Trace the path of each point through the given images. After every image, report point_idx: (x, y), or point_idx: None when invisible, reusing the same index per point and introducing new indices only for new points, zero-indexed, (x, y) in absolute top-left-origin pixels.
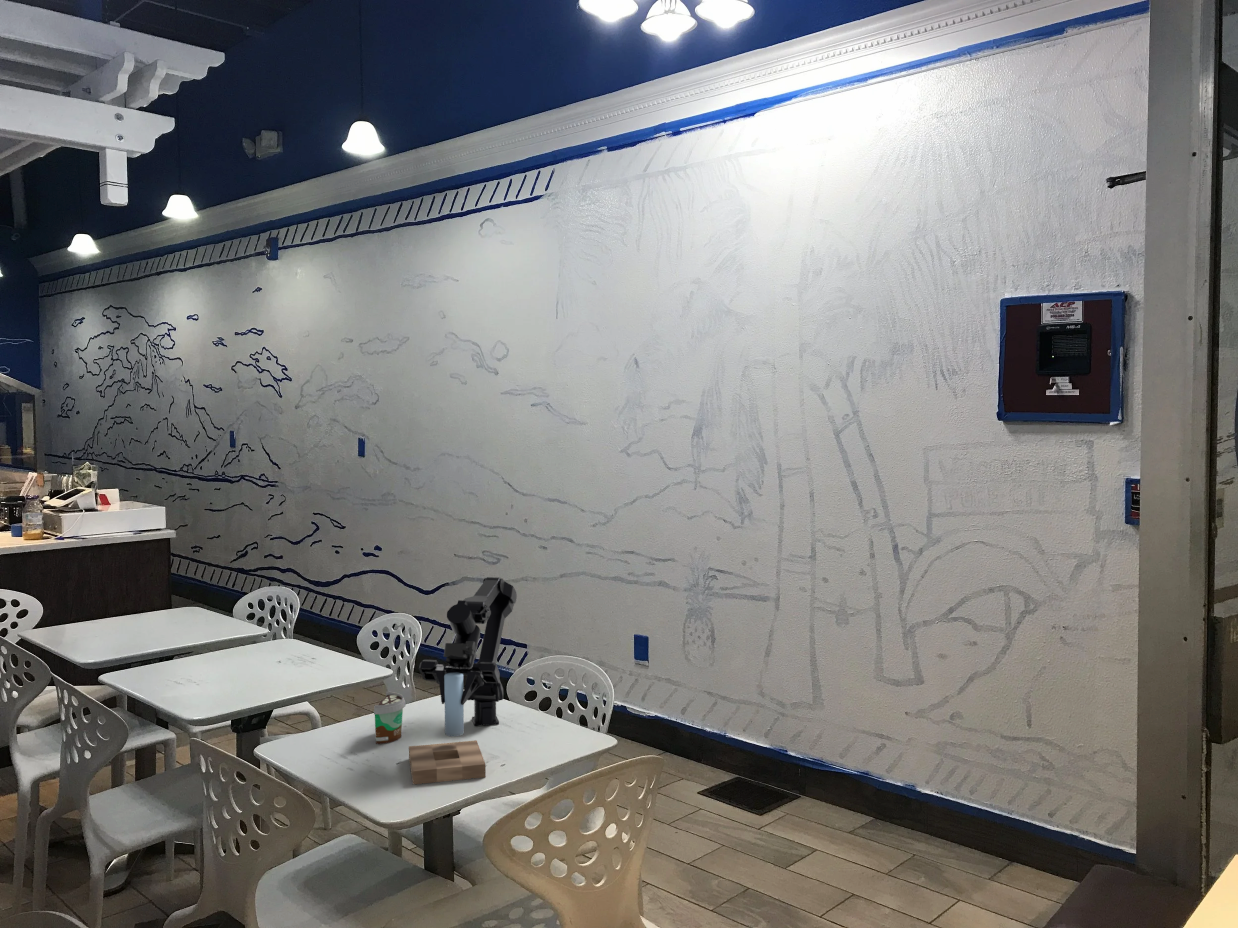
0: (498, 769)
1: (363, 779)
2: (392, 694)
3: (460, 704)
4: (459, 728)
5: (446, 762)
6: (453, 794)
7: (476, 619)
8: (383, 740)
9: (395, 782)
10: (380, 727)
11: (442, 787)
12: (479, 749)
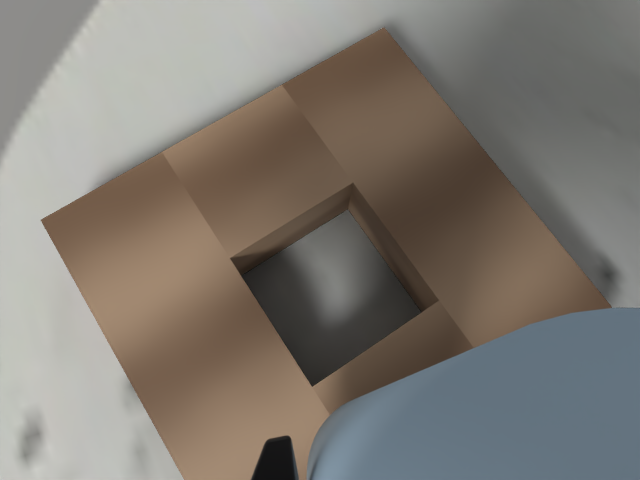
0: (36, 364)
1: (619, 54)
2: None
3: (313, 465)
4: (317, 435)
5: (274, 176)
6: (148, 28)
7: None
8: None
9: (464, 65)
10: None
11: (229, 77)
12: (167, 440)
